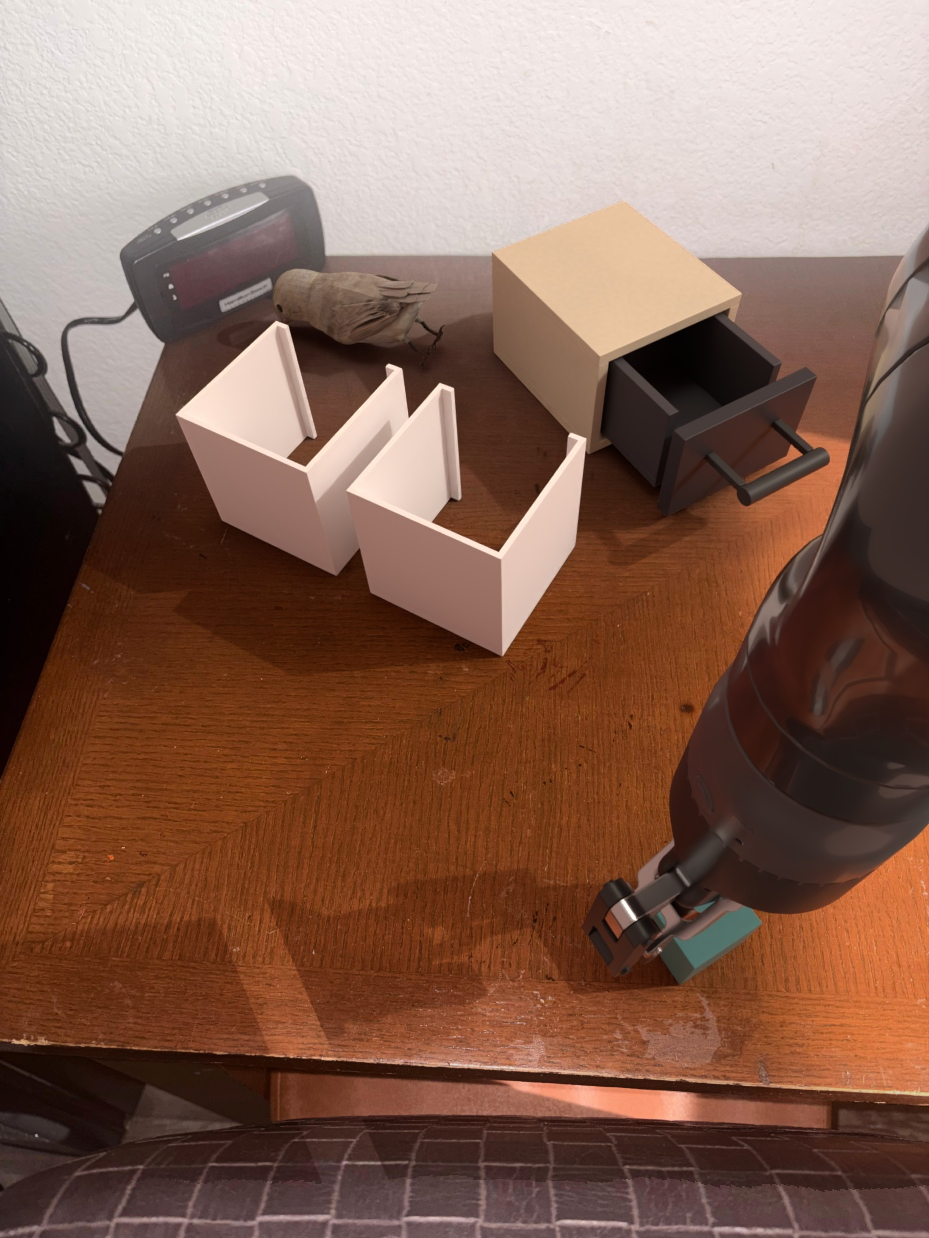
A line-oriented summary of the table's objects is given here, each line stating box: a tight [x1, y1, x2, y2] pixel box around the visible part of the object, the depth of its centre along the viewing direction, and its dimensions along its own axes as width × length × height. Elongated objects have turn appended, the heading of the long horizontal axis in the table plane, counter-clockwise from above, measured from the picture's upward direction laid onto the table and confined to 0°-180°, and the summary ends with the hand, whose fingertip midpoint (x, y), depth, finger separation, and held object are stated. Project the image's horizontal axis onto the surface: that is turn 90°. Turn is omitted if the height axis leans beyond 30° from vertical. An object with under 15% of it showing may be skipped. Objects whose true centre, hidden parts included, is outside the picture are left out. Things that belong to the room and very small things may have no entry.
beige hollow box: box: [491, 200, 743, 455], centre depth 69 cm, size 15×13×10 cm
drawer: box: [600, 312, 831, 518], centre depth 63 cm, size 18×12×8 cm, turn 30°
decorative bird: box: [272, 268, 446, 374], centre depth 74 cm, size 5×16×8 cm, turn 68°
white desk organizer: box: [175, 320, 586, 657], centre depth 60 cm, size 25×11×11 cm, turn 59°
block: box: [653, 901, 763, 986], centre depth 46 cm, size 4×4×4 cm
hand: (704, 897), depth 43 cm, fingers open, 8 cm apart
